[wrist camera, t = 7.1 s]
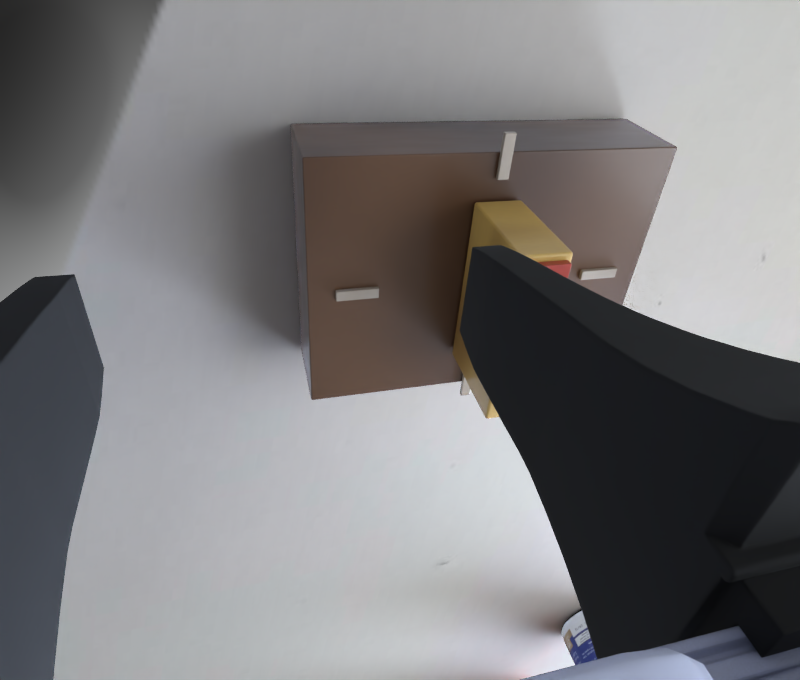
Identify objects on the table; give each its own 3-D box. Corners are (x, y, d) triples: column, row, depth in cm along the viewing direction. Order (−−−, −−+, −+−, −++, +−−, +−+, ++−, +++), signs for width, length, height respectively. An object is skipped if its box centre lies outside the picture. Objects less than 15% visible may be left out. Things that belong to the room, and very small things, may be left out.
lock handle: (491, 349, 22) (534, 418, 19) (451, 353, 22) (488, 425, 19) (521, 199, 18) (579, 256, 16) (474, 201, 18) (523, 261, 15)
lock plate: (301, 361, 24) (312, 415, 22) (289, 103, 18) (301, 137, 15) (564, 333, 27) (600, 377, 24) (632, 101, 21) (687, 129, 18)
